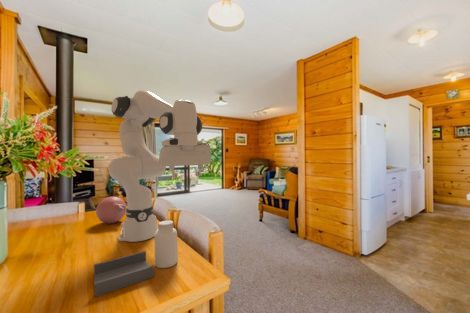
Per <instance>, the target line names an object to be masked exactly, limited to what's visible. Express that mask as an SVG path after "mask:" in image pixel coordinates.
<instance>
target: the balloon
mask: <svg viewBox="0 0 470 313" xmlns="http://www.w3.org/2000/svg"><path fill="white" fill-rule="evenodd" d="M126 209H127V203H126V202H125V200H124V199H123V198H120V197H118V196H108V197H105V198H103V199H102V200H100V202H98V204H97V206H96V209H95V211H96V212H95V214H96V217H97V218H98V219H99V221H101V222H102V223H105V224H115V223H118V222H119V221H121V220H122V219H123V217H124V216H126Z"/></svg>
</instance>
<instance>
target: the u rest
mask: <svg viewBox="0 0 470 313" xmlns="http://www.w3.org/2000/svg"><path fill="white" fill-rule="evenodd" d="M93 275H94V276H93V277H94V284H93V285H94V297H98V296H102V295H105V294H107V293H111V292H113V291H114V292H115V291H117V290H120V289H122V288H125V287H129V286H131V285H135V284H137V283H140V282H143V281H146V280H150V279H152V278H154V277H155V266H154V264H152V265H149V262H148V261H147V253H146V250H144V251H140V252H136V253H133V254H129V255H125V256H120V257H117V258H114V259H110V260H106V261H101V262H98V263H94V264H93Z"/></svg>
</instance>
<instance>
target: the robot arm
mask: <svg viewBox="0 0 470 313" xmlns="http://www.w3.org/2000/svg"><path fill="white" fill-rule="evenodd" d="M111 113H112V115H113V116H115V117H117V118H120V119H121V118H122V119H124V120H123V121H122V122H121V123H120V125H119V137H120V145H121V148H122V152H123V153H124V154H125V155H126V156H123V157H117V158H114V159H112V160H111V161H110V163H109V164H108V169H107V170H108V173H109V176H110V177H111V178H112V179H113V180H114V181H116V182H118V183H119V185H121V186H122V187H123V190H124V192H125V195H126V196H125V197H126V213H125V216H126V217H125V220H124V221H123V222H121V223H120V228H121V229H120V233H119V237H118V241H119V242H128V243H129V242H132V243H135V242H142V241H146V240H149V239H152V238H154V235H155V232H156V231H157V230H158V222H157V216H156V215H155V214H154V206H153V193H152V190H151V189H150V188H149V187H147V186H145V185H143V184H140V182H139V180H143V179H144V180H145V179H155V178H158V177H161V176H163V175H164V174H165V172H166V169H167V167H168V169H169V171H170V173H171V174H172V176H171V177H172V179H178V178H179V176H178V173H177V172H175V170H174V169H175V168H176V167H177V166H180V167H181V166H197V168H198V169H197V171H195V177H201V176H202V171H203V169H204V165H210V164H211V163H212V154H211V145H210V143H208V142H207V141H198V136H199V134H201V132H202V130H203V122H202V120H201V118H200V117H199V116H198V113H197V107H196V104H195V103H194V102H193V101H191V100H185V99H184V100H183V99H177V100H175V101H174V103H173V105H172V104H170V103H168V102H167V101H165V100H163V99H162V98H161V97H159V96H157V95H156V94H155V93H154V92H153V93H152V92H150V91H148V90H143V89H141V90H137V91H136V92H135V93H134V95H133V97H129V96H128V95H125V96H117V97H115V98H114V99H113V101H112V102H111ZM155 119H157V120H158V119H159V120H158V121H159V129H160V130H161V132H162V133H163V134H165V135H168V136H173V137H170V138H167V139H165V140H163V141H161V146H162V147H161V148H160V150H159V156H158V155H157V154H155V153H154V152H152V151H151V150H150V149H149V148H148V145H147V144H146V141H145V139H144V135H143V132H142V127H144V128H145V127H147V126H149V125H151V124H152V123H153V122H154V121H155Z"/></svg>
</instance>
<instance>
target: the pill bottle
mask: <svg viewBox="0 0 470 313" xmlns="http://www.w3.org/2000/svg"><path fill="white" fill-rule="evenodd" d="M157 228H158V230H157V231H156V232H155V235H154V237H153V238H154V263H155V267H157V268H160V269H167V268H171V267H173V266H175V265H176V264H177V263H178V262H179V261H178V260H179V255H178V254H179V253H178V251H179V250H178V249H179V248H178V231H177V229H176V227H175V228H174V221H173V220H170V219H169V220H162V221H159V222H157Z"/></svg>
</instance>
